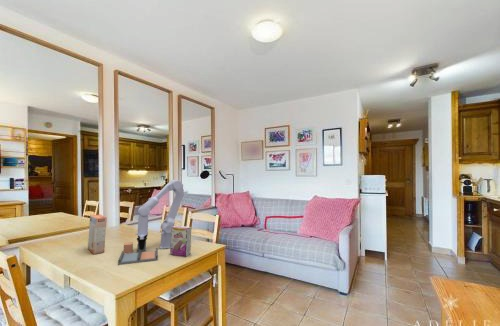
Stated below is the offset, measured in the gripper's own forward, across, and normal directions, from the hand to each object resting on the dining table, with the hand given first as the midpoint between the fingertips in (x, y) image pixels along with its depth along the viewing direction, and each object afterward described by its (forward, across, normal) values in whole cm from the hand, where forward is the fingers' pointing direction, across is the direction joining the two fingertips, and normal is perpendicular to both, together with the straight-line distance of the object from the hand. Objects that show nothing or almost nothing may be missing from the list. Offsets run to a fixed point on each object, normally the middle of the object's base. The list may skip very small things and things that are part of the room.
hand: (141, 248), depth 138 cm
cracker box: (+2, -8, -26) cm, 27 cm away
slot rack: (+1, +13, 0) cm, 13 cm away
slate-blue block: (+1, 0, 0) cm, 1 cm away
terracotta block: (+2, 0, -8) cm, 8 cm away
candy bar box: (+2, +15, +22) cm, 26 cm away
